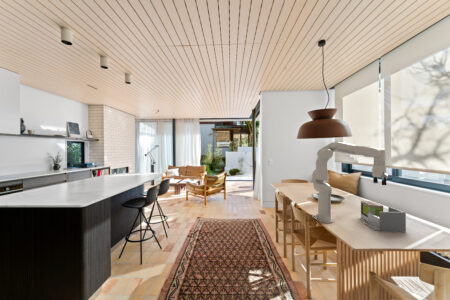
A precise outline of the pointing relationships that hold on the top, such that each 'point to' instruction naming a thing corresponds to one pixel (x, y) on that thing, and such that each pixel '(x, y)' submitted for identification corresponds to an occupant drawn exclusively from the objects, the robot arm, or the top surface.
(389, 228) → the shelf wall
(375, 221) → the bookend
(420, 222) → the top surface
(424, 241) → the top surface
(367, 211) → the tea box
